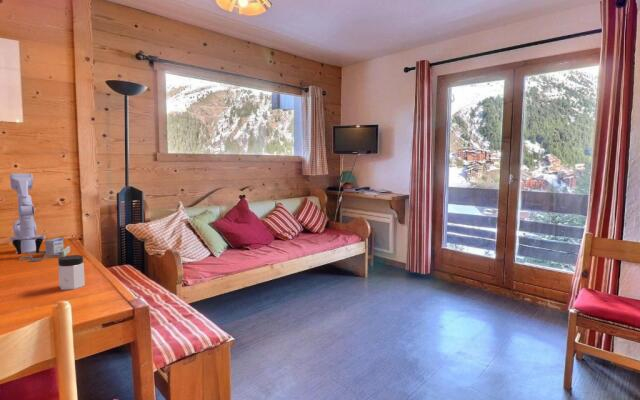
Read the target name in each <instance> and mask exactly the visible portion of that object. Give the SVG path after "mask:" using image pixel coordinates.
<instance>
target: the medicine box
mask: <svg viewBox="0 0 640 400" xmlns="http://www.w3.org/2000/svg"><path fill="white" fill-rule="evenodd" d="M44 247H45V250H46V253H45V255H53V254H62V251H63V250H64V249H65V248H64V238H63V237H55V238H51V239H47V240H45V242H44Z"/></svg>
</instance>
